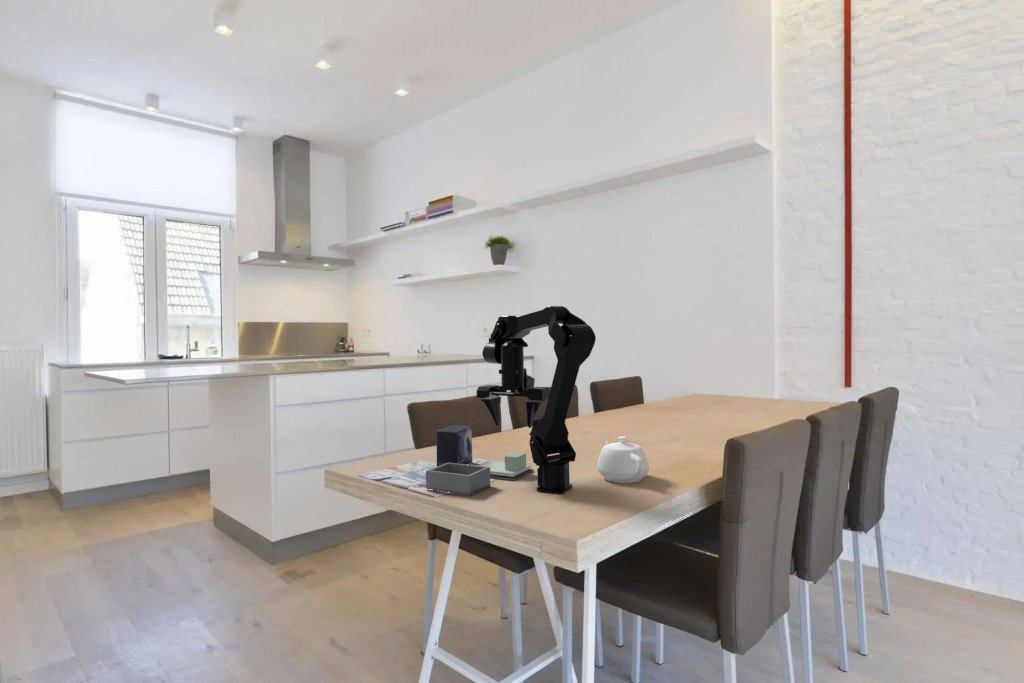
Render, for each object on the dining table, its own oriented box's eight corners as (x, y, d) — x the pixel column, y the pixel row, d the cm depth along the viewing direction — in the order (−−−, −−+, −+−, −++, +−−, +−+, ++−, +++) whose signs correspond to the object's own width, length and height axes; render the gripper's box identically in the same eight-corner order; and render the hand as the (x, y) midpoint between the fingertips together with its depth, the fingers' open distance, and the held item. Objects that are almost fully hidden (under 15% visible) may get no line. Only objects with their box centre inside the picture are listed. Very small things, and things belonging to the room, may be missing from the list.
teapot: (583, 470, 148) (582, 431, 147) (627, 466, 151) (626, 428, 150) (616, 491, 128) (615, 446, 128) (665, 486, 131) (665, 442, 131)
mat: (533, 470, 148) (533, 469, 148) (513, 481, 138) (513, 479, 138) (487, 465, 155) (487, 464, 155) (465, 475, 145) (465, 473, 145)
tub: (490, 485, 135) (490, 467, 134) (470, 496, 127) (469, 476, 127) (448, 480, 140) (447, 462, 140) (426, 490, 132) (425, 470, 132)
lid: (530, 469, 148) (530, 451, 148) (513, 478, 139) (512, 459, 139) (488, 465, 154) (488, 447, 154) (469, 473, 145) (469, 455, 145)
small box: (458, 471, 149) (457, 431, 149) (435, 470, 151) (434, 430, 151) (473, 462, 159) (472, 424, 159) (452, 461, 161) (451, 424, 161)
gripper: (559, 363, 147) (560, 423, 147) (496, 362, 155) (497, 419, 156) (540, 366, 137) (541, 431, 137) (474, 365, 146) (475, 426, 146)
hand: (513, 426), depth 144 cm, fingers open, 9 cm apart
